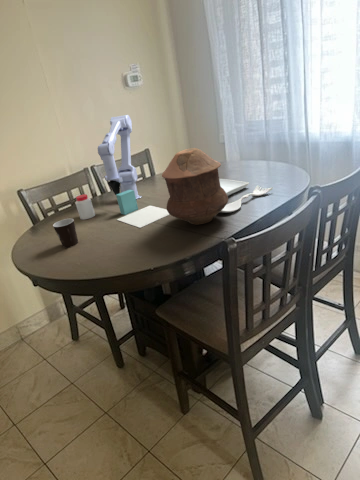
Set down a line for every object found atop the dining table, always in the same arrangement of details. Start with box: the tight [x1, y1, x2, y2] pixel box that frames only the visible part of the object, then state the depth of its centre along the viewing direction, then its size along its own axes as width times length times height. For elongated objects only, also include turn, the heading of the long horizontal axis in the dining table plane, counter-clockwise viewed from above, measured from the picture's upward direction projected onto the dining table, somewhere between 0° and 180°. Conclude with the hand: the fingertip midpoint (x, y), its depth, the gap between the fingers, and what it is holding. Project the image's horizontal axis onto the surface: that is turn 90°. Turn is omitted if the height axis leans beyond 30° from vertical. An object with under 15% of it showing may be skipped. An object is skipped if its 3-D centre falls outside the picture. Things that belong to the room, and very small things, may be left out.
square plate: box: [219, 178, 250, 197], centre depth 177 cm, size 27×27×4 cm
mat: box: [116, 205, 171, 229], centre depth 163 cm, size 20×20×1 cm
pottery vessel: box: [161, 147, 229, 225], centre depth 140 cm, size 26×26×30 cm
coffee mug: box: [52, 218, 79, 249], centre depth 144 cm, size 12×9×10 cm
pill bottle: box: [75, 193, 96, 220], centre depth 176 cm, size 8×8×11 cm
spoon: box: [219, 184, 274, 213], centre depth 156 cm, size 9×32×4 cm, turn 131°
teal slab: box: [115, 190, 139, 216], centre depth 171 cm, size 4×8×10 cm, turn 130°
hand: (117, 194), depth 176 cm, fingers closed
